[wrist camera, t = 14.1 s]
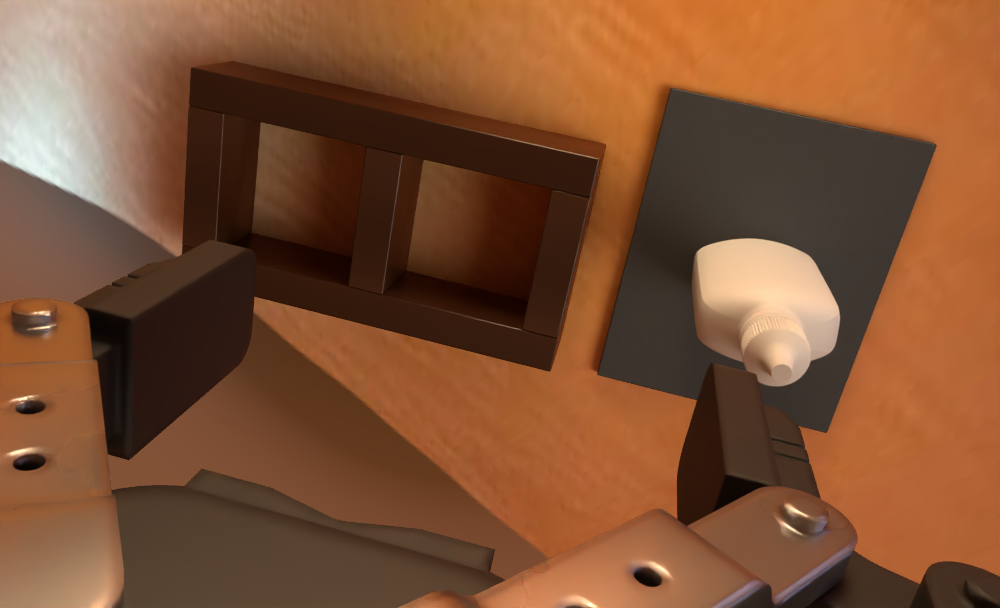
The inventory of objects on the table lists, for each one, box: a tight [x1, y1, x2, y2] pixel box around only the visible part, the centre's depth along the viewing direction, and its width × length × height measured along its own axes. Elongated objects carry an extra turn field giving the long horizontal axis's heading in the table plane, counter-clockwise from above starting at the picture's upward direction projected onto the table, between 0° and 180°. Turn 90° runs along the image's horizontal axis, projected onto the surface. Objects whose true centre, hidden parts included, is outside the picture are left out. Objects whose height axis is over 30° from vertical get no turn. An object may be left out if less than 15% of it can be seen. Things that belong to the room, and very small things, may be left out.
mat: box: [598, 88, 937, 433], centre depth 41 cm, size 15×12×1 cm
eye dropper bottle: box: [692, 239, 840, 387], centre depth 35 cm, size 4×6×12 cm
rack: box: [182, 62, 606, 371], centre depth 41 cm, size 11×19×4 cm, turn 79°
